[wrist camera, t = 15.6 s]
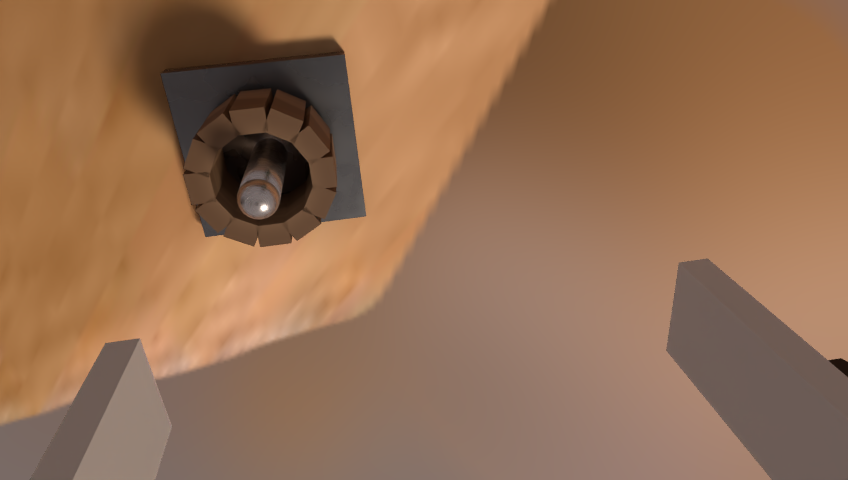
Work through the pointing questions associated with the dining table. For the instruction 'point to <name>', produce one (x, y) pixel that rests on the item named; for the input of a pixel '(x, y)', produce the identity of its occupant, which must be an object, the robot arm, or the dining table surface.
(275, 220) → the ring
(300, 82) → the post
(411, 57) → the dining table surface
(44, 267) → the dining table surface
